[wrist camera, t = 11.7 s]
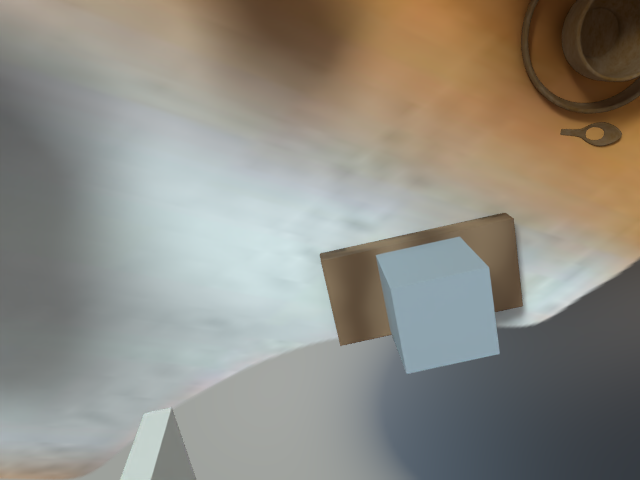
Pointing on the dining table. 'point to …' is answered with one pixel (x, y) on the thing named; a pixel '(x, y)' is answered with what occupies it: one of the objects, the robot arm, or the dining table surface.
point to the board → (361, 264)
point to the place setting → (596, 56)
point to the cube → (438, 304)
